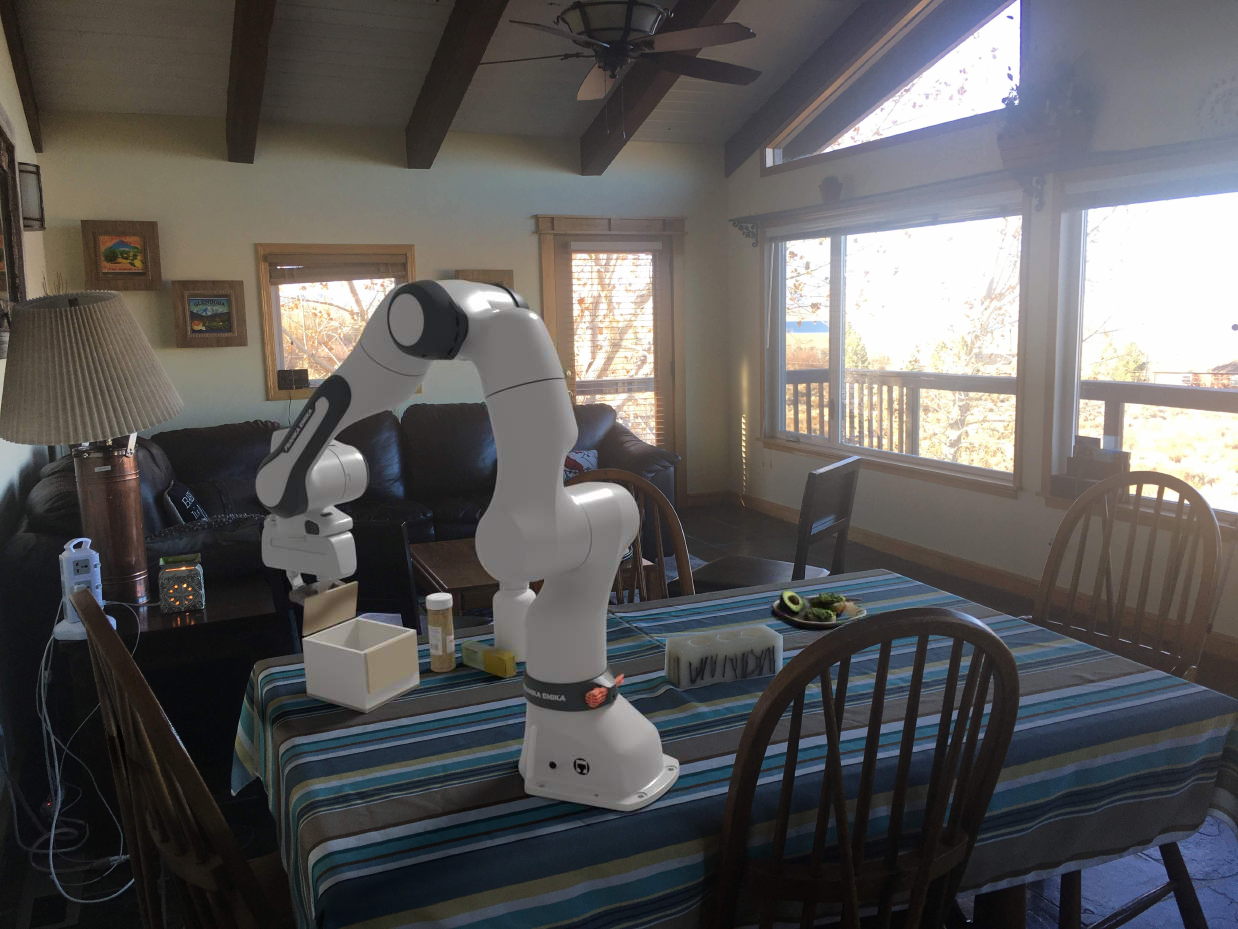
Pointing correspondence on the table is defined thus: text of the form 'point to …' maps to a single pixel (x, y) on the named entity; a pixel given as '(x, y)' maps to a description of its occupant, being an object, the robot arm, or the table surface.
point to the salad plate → (816, 609)
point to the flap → (326, 604)
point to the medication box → (488, 658)
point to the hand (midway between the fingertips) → (311, 596)
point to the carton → (361, 664)
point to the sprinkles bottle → (441, 632)
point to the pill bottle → (511, 617)
